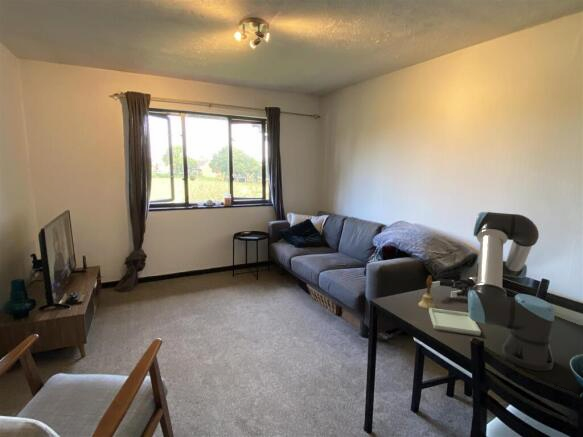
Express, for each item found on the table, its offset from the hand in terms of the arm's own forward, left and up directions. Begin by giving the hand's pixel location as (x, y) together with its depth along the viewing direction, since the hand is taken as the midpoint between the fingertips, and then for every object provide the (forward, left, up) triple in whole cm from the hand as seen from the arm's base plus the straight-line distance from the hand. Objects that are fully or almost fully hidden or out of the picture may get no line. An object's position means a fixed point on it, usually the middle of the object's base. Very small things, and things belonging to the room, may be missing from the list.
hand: (440, 289), depth 165 cm
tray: (-21, -3, -7) cm, 23 cm away
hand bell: (-5, +6, -8) cm, 11 cm away
